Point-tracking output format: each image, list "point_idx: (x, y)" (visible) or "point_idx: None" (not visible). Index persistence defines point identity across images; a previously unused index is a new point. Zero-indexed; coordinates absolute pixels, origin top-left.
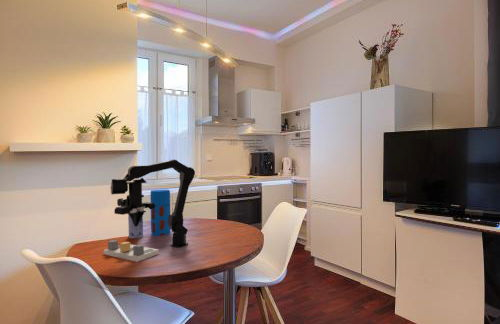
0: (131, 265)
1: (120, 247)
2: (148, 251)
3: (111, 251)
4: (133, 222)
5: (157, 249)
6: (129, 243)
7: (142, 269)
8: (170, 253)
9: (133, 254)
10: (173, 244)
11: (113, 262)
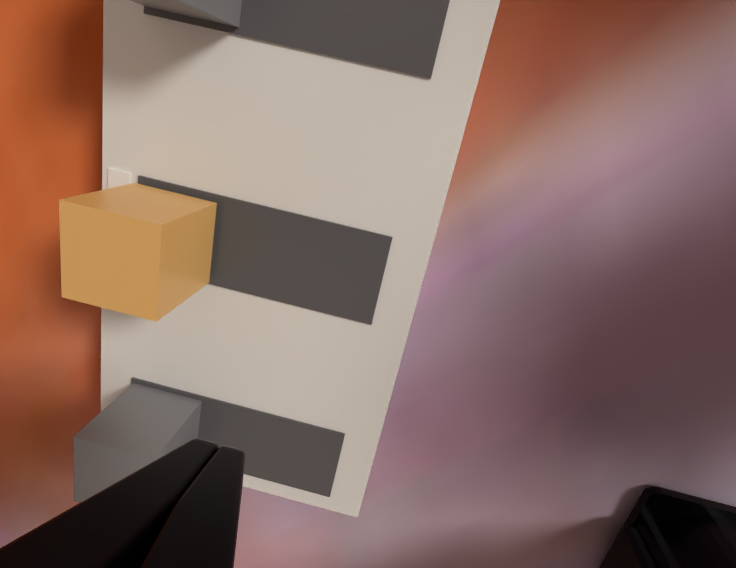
0: (51, 423)
1: (104, 194)
2: (265, 467)
3: (104, 45)
4: (69, 536)
5: (356, 510)
6: (149, 312)
7: (38, 526)
8: (406, 564)
9: (132, 384)
10: (618, 549)
11: (20, 235)
